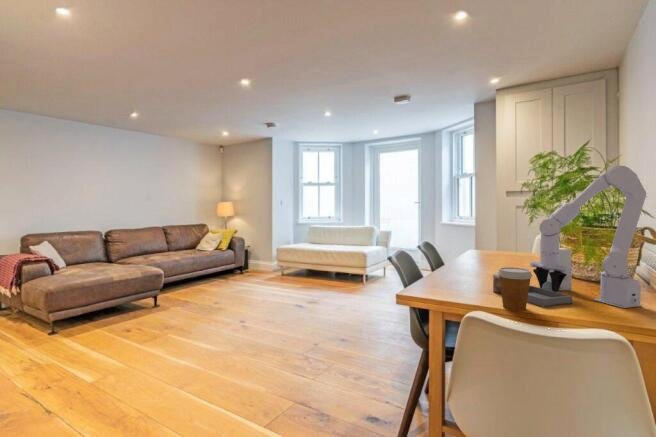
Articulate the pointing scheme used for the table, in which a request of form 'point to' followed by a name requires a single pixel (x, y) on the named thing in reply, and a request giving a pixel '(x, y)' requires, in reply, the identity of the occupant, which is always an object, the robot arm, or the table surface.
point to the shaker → (496, 284)
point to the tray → (547, 297)
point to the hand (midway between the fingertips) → (549, 290)
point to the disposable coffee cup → (514, 287)
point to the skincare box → (566, 262)
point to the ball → (547, 286)
